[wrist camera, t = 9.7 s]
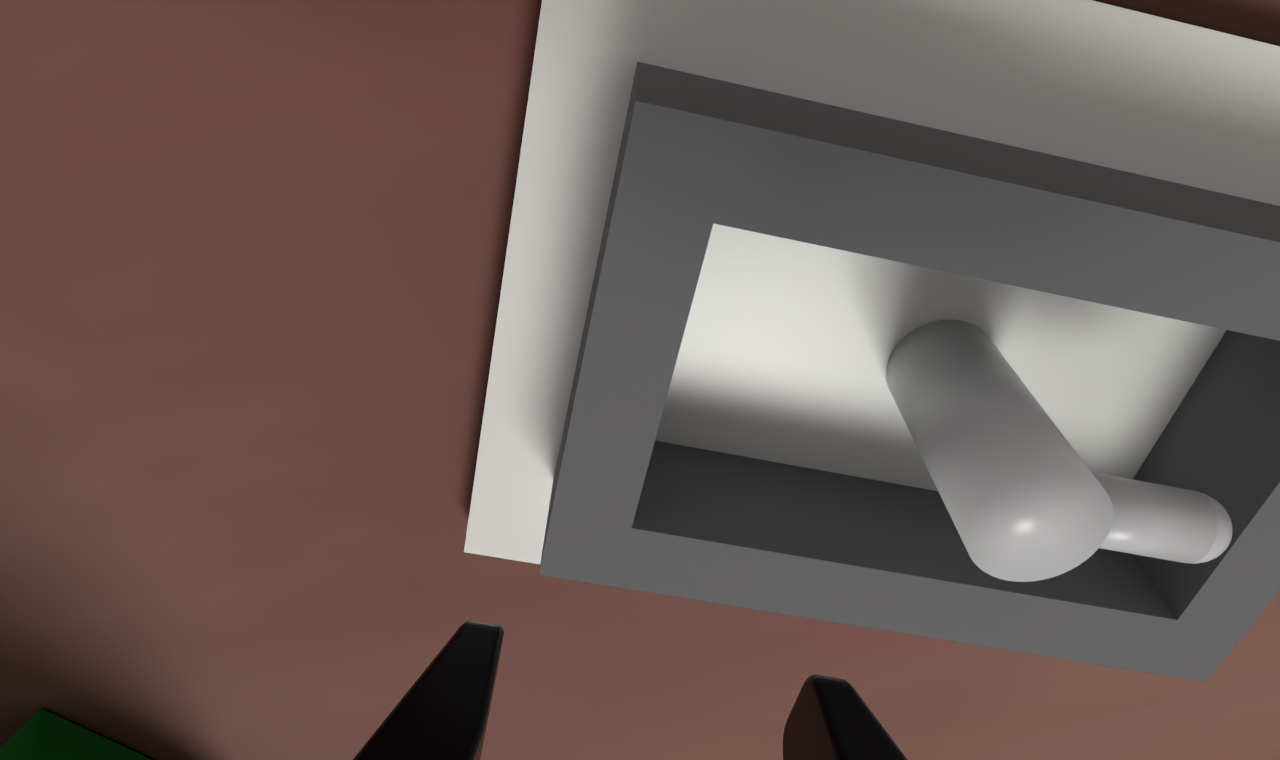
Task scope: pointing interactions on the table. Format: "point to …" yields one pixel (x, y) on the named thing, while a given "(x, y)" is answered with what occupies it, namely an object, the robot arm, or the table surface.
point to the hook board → (887, 269)
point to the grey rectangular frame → (887, 512)
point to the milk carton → (61, 742)
